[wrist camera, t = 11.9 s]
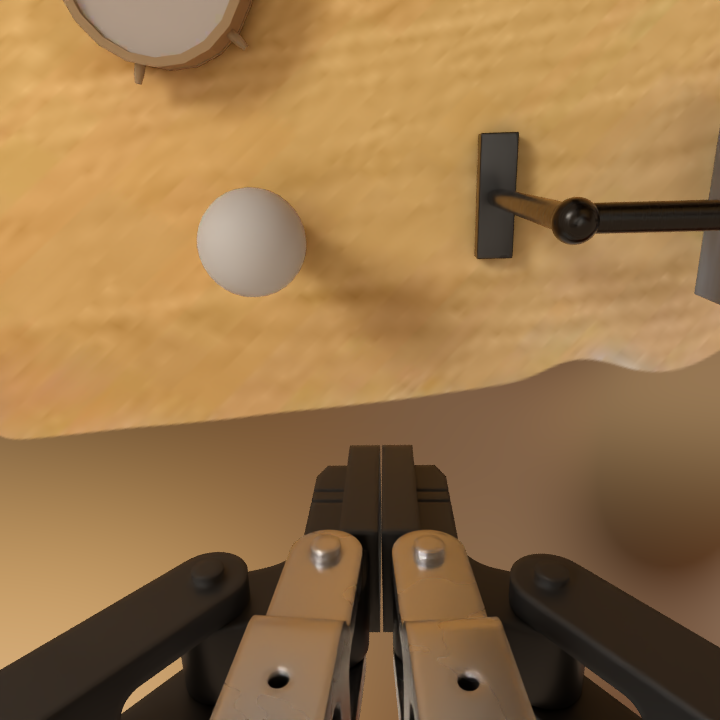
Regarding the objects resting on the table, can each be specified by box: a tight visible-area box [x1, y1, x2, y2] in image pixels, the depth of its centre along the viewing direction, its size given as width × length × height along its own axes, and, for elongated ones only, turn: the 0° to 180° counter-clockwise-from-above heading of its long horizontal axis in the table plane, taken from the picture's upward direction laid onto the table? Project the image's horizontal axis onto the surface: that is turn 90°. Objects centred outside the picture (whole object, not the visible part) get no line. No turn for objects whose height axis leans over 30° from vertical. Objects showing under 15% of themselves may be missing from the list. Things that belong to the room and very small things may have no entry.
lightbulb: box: [197, 187, 306, 297], centre depth 36 cm, size 6×6×11 cm
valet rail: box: [475, 132, 720, 259], centre depth 30 cm, size 18×8×19 cm, turn 92°
